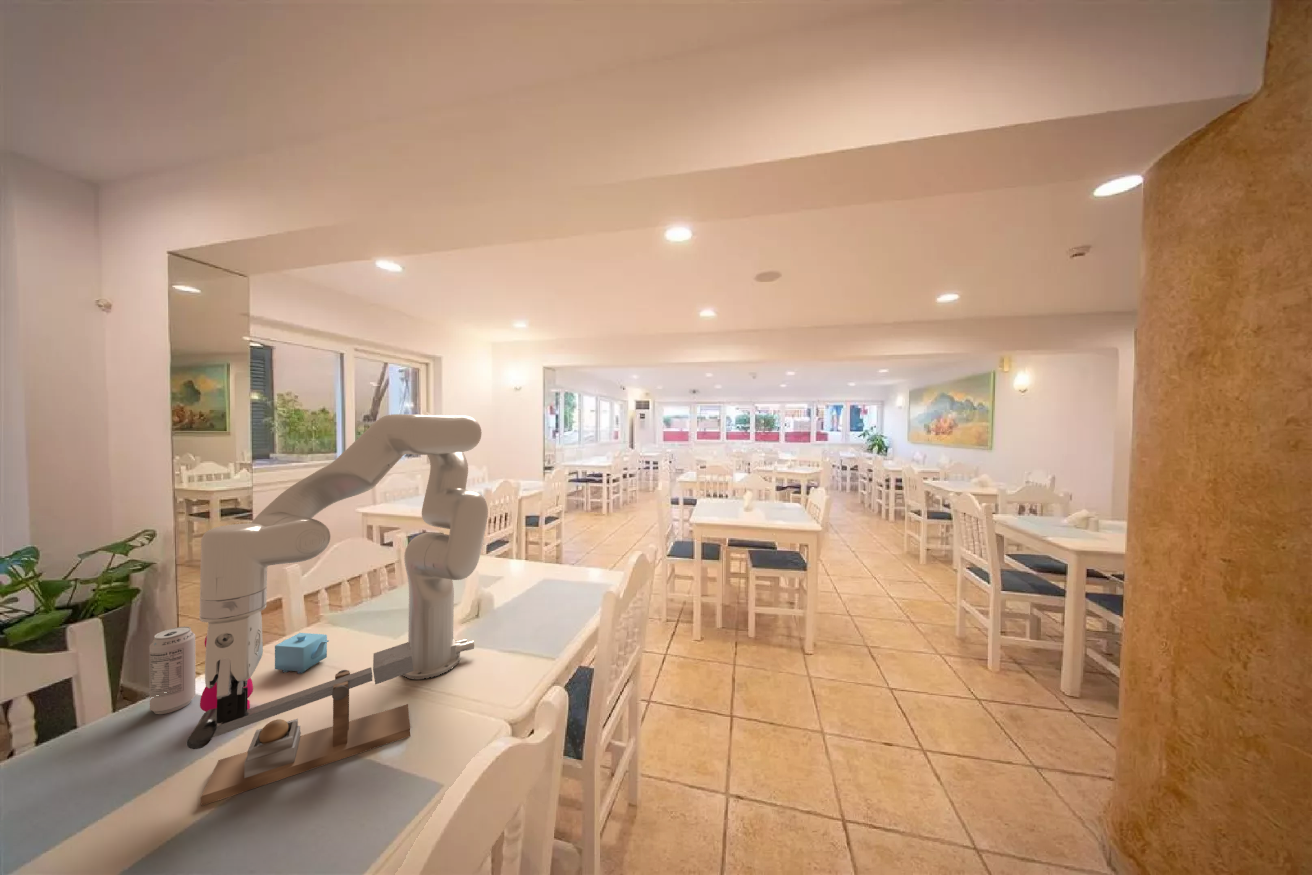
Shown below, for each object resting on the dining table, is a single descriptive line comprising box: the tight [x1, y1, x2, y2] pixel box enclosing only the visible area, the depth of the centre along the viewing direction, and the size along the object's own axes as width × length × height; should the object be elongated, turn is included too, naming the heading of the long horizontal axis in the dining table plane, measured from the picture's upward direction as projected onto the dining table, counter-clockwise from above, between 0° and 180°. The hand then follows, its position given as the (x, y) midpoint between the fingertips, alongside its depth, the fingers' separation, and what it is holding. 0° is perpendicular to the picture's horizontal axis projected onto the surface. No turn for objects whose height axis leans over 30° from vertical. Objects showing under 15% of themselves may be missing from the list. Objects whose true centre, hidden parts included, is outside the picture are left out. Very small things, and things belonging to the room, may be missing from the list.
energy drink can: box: [148, 626, 196, 715], centre depth 84 cm, size 6×6×15 cm
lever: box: [186, 642, 414, 750], centre depth 73 cm, size 29×6×3 cm, turn 123°
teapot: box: [274, 632, 330, 675], centre depth 98 cm, size 12×6×8 cm, turn 85°
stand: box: [200, 669, 411, 807], centre depth 73 cm, size 27×8×12 cm, turn 123°
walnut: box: [259, 718, 288, 744], centre depth 70 cm, size 4×4×4 cm
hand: (232, 717), depth 67 cm, fingers closed
